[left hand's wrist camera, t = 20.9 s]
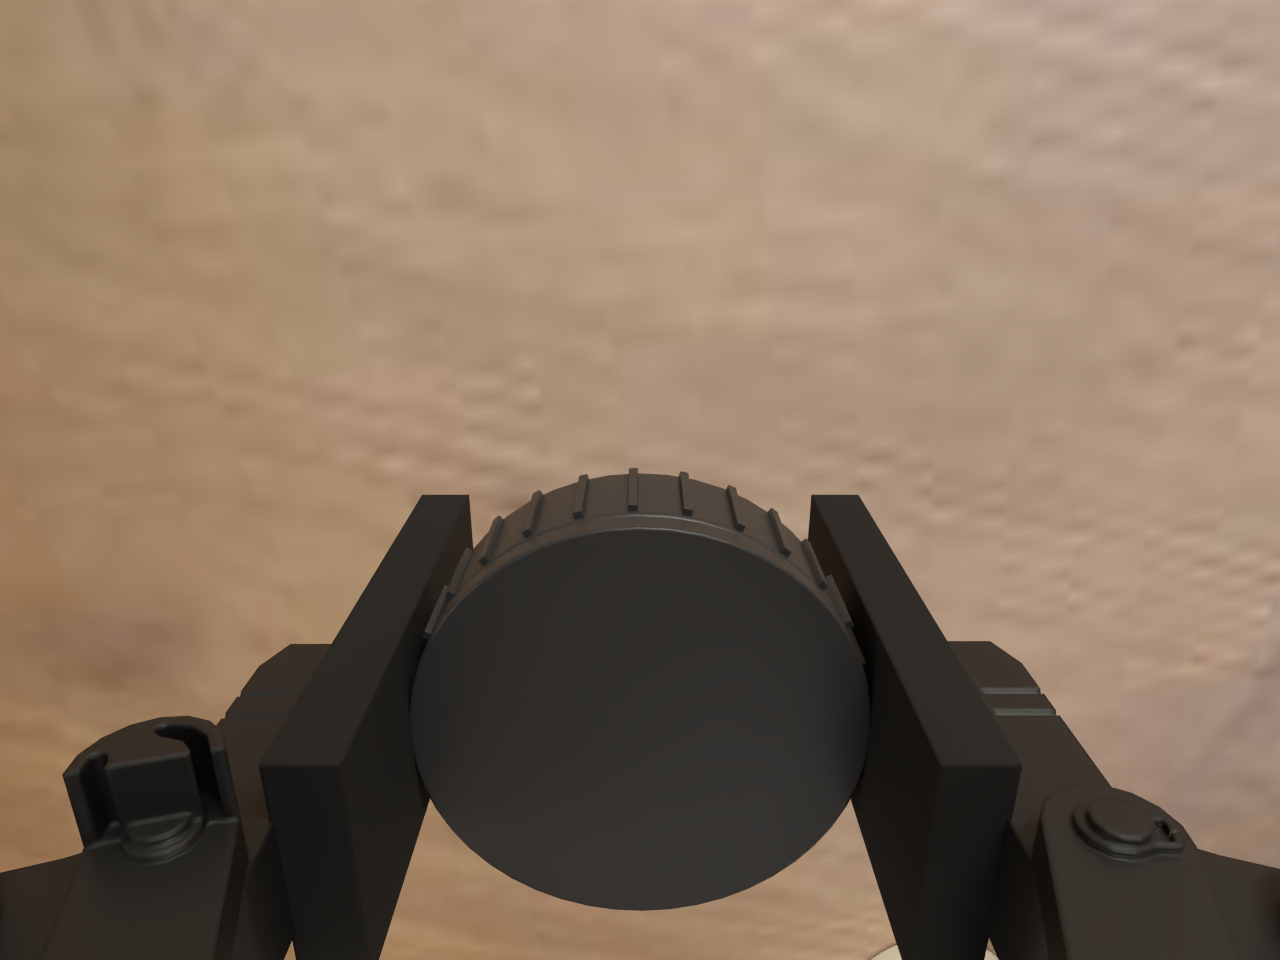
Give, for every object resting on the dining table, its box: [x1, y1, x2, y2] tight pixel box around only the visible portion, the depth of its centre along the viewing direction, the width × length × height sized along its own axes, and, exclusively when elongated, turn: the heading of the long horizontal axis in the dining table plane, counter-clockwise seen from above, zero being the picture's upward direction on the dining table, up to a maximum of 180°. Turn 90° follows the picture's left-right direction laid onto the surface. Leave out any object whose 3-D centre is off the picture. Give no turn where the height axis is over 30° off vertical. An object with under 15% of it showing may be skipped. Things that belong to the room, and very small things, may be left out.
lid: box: [409, 468, 872, 911], centre depth 11 cm, size 6×6×2 cm
